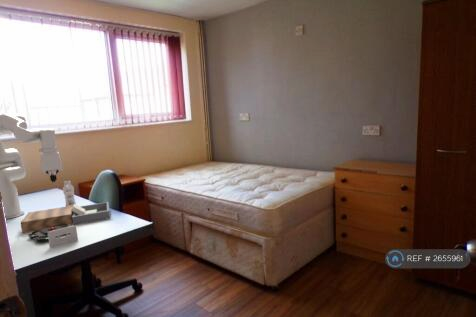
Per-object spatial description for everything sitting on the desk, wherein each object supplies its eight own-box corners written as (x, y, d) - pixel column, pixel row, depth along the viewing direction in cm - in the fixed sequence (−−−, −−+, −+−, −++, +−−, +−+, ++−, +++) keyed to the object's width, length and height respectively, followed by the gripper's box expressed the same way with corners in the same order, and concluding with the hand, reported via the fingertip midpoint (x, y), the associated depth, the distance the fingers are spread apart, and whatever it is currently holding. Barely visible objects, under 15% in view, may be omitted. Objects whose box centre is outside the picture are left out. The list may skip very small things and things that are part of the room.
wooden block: (22, 233, 172) (20, 222, 172) (30, 222, 191) (28, 212, 190) (72, 224, 181) (70, 214, 180) (75, 214, 200) (74, 205, 199)
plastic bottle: (66, 213, 204) (61, 182, 201) (66, 210, 210) (61, 180, 207) (77, 211, 207) (72, 180, 204) (77, 208, 213) (72, 178, 210)
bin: (73, 224, 180) (72, 217, 180) (76, 214, 201) (75, 207, 200) (109, 218, 187) (108, 210, 187) (109, 208, 208) (108, 201, 207)
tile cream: (70, 210, 186) (73, 206, 186) (71, 207, 193) (74, 203, 193) (82, 216, 189) (84, 212, 189) (82, 212, 195) (85, 209, 196)
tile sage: (96, 212, 191) (97, 216, 191) (96, 209, 198) (97, 213, 198) (83, 214, 189) (84, 218, 189) (84, 211, 195) (84, 215, 195)
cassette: (77, 240, 157) (75, 224, 156) (78, 241, 156) (76, 225, 155) (49, 247, 151) (46, 231, 149) (50, 248, 149) (47, 232, 148)
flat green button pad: (27, 238, 165) (25, 229, 165) (64, 227, 179) (62, 219, 178) (39, 246, 154) (38, 236, 153) (78, 233, 167) (77, 224, 167)
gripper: (33, 152, 181) (37, 184, 183) (63, 150, 186) (67, 181, 189) (36, 150, 187) (40, 181, 190) (65, 148, 193) (68, 178, 196)
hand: (53, 181), depth 190 cm, fingers closed
